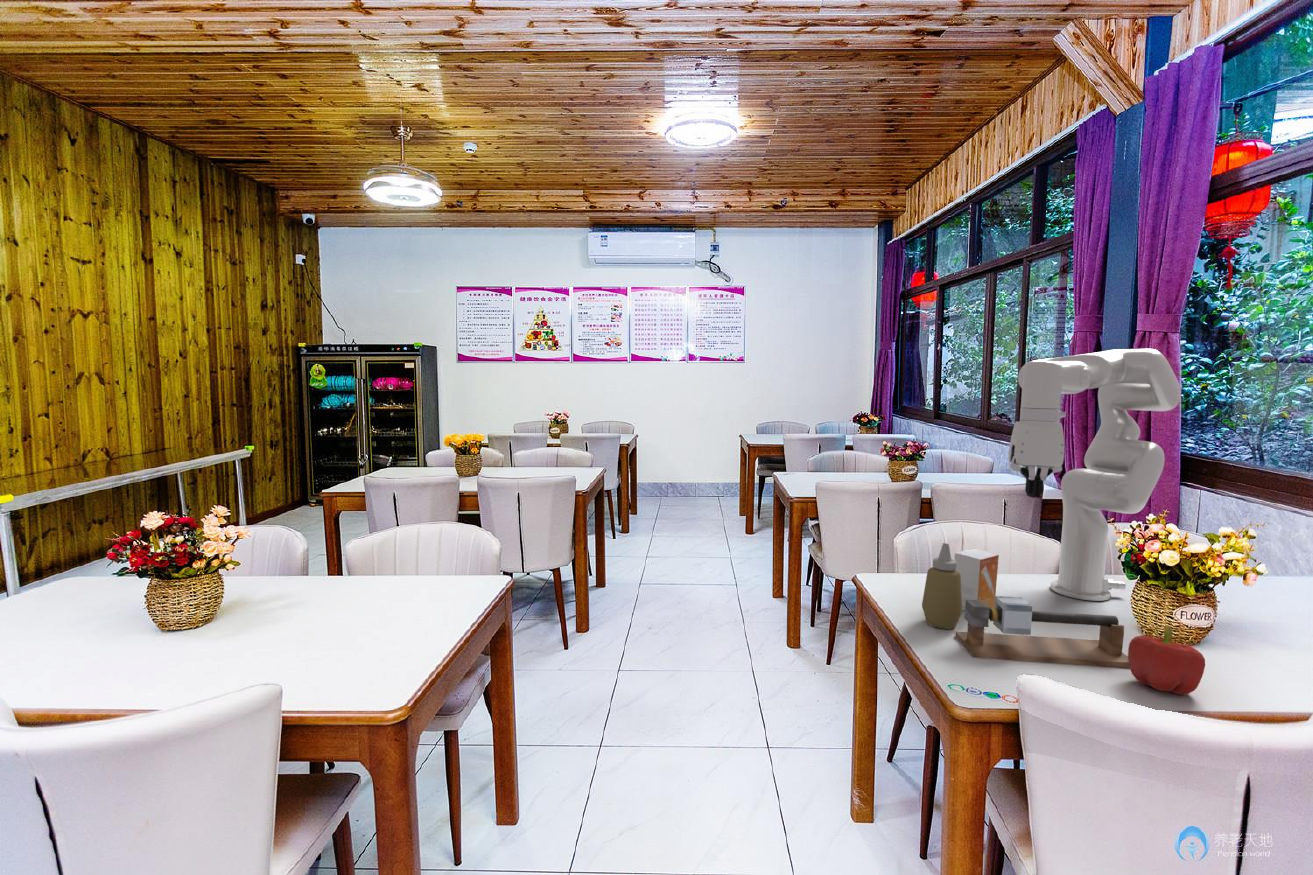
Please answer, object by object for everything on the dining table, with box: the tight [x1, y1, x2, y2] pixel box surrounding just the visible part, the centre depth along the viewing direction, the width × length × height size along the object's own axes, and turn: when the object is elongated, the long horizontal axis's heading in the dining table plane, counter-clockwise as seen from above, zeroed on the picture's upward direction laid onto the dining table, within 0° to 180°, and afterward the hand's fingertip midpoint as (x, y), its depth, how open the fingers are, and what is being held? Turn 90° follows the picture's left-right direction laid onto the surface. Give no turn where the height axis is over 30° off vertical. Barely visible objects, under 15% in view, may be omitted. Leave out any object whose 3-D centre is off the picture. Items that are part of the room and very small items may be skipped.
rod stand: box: [955, 599, 1130, 669], centre depth 122 cm, size 29×10×9 cm, turn 83°
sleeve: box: [992, 595, 1033, 636], centre depth 122 cm, size 5×5×6 cm
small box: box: [954, 548, 1000, 611], centre depth 145 cm, size 8×6×13 cm
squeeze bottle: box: [921, 542, 963, 630], centre depth 134 cm, size 8×8×18 cm
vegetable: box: [1127, 624, 1206, 696], centre depth 108 cm, size 11×10×10 cm
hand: (1033, 496), depth 141 cm, fingers closed
